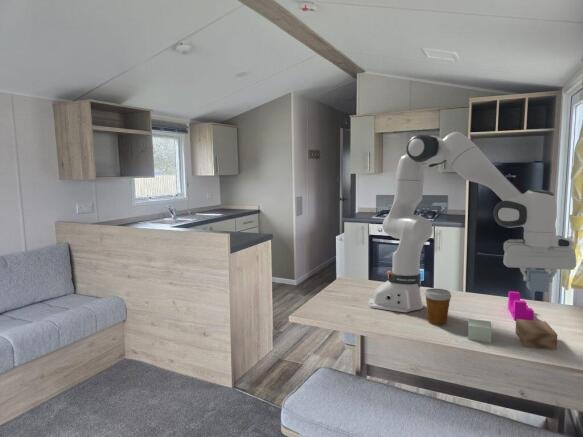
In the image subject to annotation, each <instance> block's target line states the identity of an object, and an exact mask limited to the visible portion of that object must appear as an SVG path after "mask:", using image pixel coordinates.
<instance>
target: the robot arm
mask: <svg viewBox="0 0 583 437" xmlns="http://www.w3.org/2000/svg"><path fill="white" fill-rule="evenodd" d="M445 163H448V164H449V165H450V167H452V169H453V170H454V172H455V173H457V175H458V176H460V177H461V178H463V179H464V180H465V181H468V182H473V183H476V184H480V185H483V186H484V187H487V188H489V189H490V190H491V191H493V192H494V193H495V195H496V196H497V197H498V198H499V199H500V200H501V201H499V202H498V203H497V204H496V205H495V206H494V208H493V218H494V220H495V222H496V223H497V224H498V225H499V226H501V227H503V228H509V229H511V228H518V227H519V228H520V227H523V239H521V238H519V239H518V238H517V239H514V238H509V239H508V240H505V241H504V242H503V251H504V254H503V261H502V263H503V265H504V266H506V267H507V268H514V269H515V268H516V269H517V268H519V271H520V272H521V274H522V276H523V277H522V278H523V281H524V282H527V281H530V276H529V275H527V273H526V272H527V269H539V270H549V271H550V273H549V283H551V284H552V283H553V278H554V276H556V274H557V272H558V270H566V271H567V270H570V271H571V270H572V271H573V270H575V268H576V267H577V255H576V254H577V253H576V251H575V249H574V248H573V246H574V241H573V240H571V239H570V238H567V237H564V236H562V235H557V228H556V226H555V225H556V220H557V216H558V210H557V209H558V207H557V206H558V205H557V198H556V195H555V194H554V193H553V192H552V191H549V190H545V189H537V188H536V189H535V188H532V189H528V190H527V191H525V192H524V193H523V192H522V191H520V190H519V189H518V187H517V186H515V184H514V183H513V182H511V181H510V180H509V179H508V178H507V177H506V176H505V175H504V174H503V172H501V171H500V170H499V169H498V168H497V167H496V166H495V165H494V163H492V162H491V160H489V158H488V157H487V156H486V155H485V154H484V152H483V151H482V150H481V149H480V148H479V147H478V146H477V144H475V143H474V142H473V141H472V140H471V139H470V138H468V137H467V136H466V135H465V134H464V133H462V132H460V131H454V132H451V133H448V134H446V136H445V137H439V136H437V135H429V134H417V135H414V136H412V137H411V138H410V139H409V140H408V142H407V144H406V153H405V154H403V155H401V157H400V158H399V160H398V164H397V168H396V173H395V174H396V175H395V185H394V186H395V187H394V196H393V201H392V202H393V203H392V205H391V208H390V209H389V212H388V214H387V215H386V216H385V218H384V219H383V221H382V229H383V231H384V233H385V234H387V235H388V236H390V237H392V238H394V239H398V240H399V244H398V245H397V246H398V247H397V249H396V250H395V251H393V253H392V259H391V260H392V266H391V267H392V269H391V270H392V271H391V270H388V271H387V272H386V276H387V277H386V280H385V282H383V283H381V284H379V286H377V287H376V288H375V290H374V292H373V294H374V295H373V296H372V297H370V298H369V300H368V306H369V308H372V309H378V310H385V311H393V312H399V313H409V312H414V311H419V310H421V309H423V308H424V304H423V301H422V300H423V299H422V296H421V294H422V293H421V285H422V276H421V273H420V267H421V254H422V251H423V247H424V245H425V243H426V242H427V241H428V240H430V239H431V237H432V234H433V229H434V228H433V224H432V222H431V220H429V219H427V218H426V217H424V216H421V215H418V214H417V215H416V214H415V210H416V208H417V206H418V205H419V204H420V203H422V200H423V192H424V177H425V171H426V168H427V167H429V168H433V167H435V166H438V165H442V164H445Z"/></svg>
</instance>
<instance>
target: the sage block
mask: <svg viewBox="0 0 583 437" xmlns="http://www.w3.org/2000/svg"><path fill="white" fill-rule="evenodd" d="M467 326H468V327H467V328H468V330H467V339H468V340H469V341H470V340H472V341H475V342H476V341H477V342H484V343H492V328H493V327H492V322H491V321H490V320H484V319H483V320H482V319H481V320H480V319H473V318H468V325H467Z"/></svg>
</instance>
